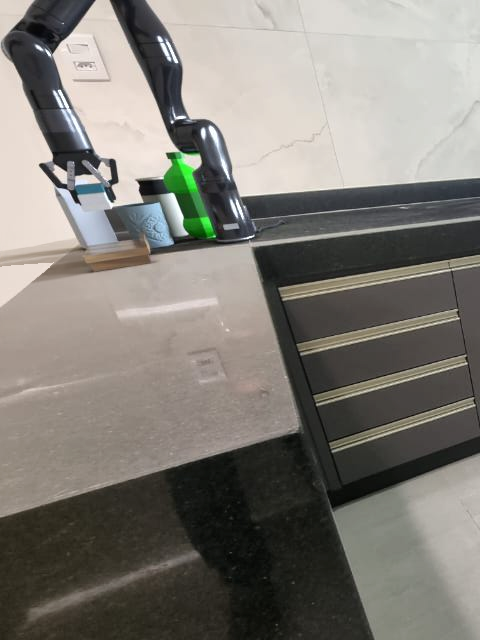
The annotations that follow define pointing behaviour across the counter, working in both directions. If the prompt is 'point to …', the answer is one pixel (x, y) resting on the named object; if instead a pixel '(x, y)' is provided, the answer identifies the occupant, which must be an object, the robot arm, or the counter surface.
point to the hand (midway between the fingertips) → (97, 203)
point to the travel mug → (163, 202)
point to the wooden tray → (118, 254)
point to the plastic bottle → (187, 197)
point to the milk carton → (85, 220)
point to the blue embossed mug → (146, 222)
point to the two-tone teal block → (93, 197)
